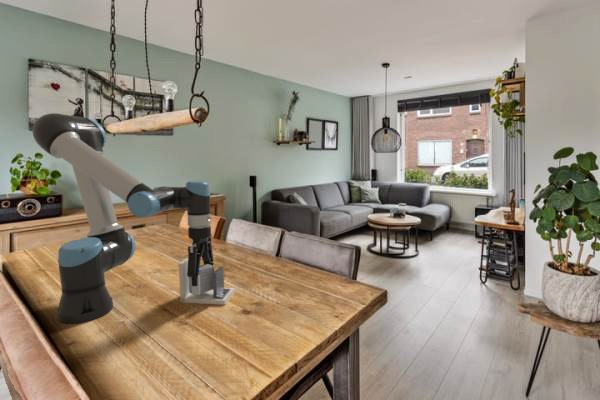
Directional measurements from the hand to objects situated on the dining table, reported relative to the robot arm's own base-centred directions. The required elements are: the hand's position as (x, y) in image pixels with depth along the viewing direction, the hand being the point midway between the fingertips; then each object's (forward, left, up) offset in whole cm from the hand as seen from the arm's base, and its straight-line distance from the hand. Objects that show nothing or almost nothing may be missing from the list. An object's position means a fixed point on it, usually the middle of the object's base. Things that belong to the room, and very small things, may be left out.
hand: (202, 288), depth 114 cm
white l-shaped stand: (+2, +2, -4) cm, 5 cm away
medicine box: (0, 0, -1) cm, 1 cm away
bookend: (+7, +1, -2) cm, 7 cm away
